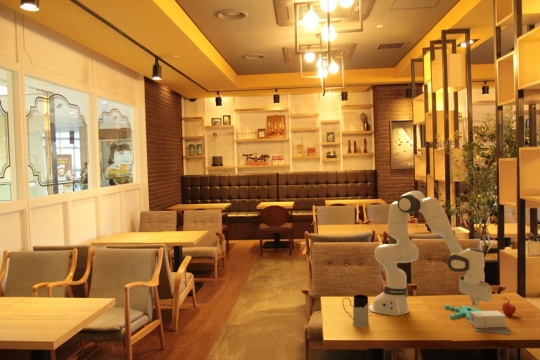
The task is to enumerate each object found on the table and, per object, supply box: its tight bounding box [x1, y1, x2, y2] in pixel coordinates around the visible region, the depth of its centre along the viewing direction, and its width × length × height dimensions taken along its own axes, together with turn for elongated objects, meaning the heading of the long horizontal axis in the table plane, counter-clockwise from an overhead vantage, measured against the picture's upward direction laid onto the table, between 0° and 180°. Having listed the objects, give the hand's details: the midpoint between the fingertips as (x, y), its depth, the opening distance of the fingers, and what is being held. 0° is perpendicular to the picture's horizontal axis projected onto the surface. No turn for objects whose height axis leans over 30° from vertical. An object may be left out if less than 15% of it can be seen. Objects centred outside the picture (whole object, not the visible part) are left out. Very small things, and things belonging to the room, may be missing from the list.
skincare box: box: [469, 310, 507, 328], centre depth 247 cm, size 8×7×16 cm
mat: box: [473, 325, 512, 336], centre depth 244 cm, size 16×14×1 cm
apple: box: [501, 297, 517, 317], centre depth 263 cm, size 8×7×10 cm
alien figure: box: [444, 304, 485, 321], centre depth 266 cm, size 20×2×20 cm
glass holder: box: [342, 294, 370, 328], centre depth 252 cm, size 9×14×15 cm, turn 70°
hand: (475, 305), depth 245 cm, fingers closed
